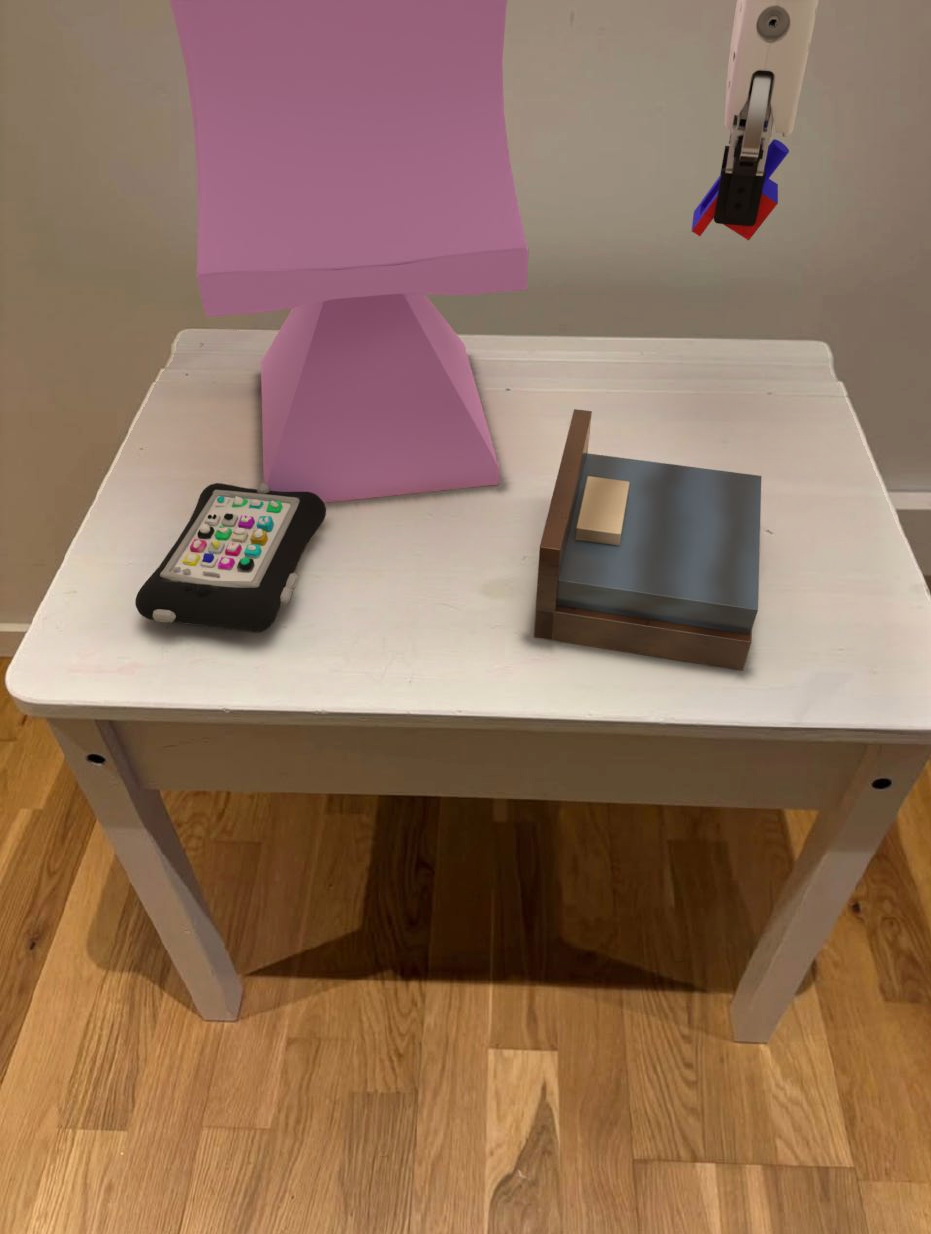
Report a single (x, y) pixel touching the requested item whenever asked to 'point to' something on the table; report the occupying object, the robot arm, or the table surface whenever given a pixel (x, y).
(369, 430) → the pink table lamp
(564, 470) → the doll bed
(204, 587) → the phone
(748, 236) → the toy building block
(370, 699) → the table surface
